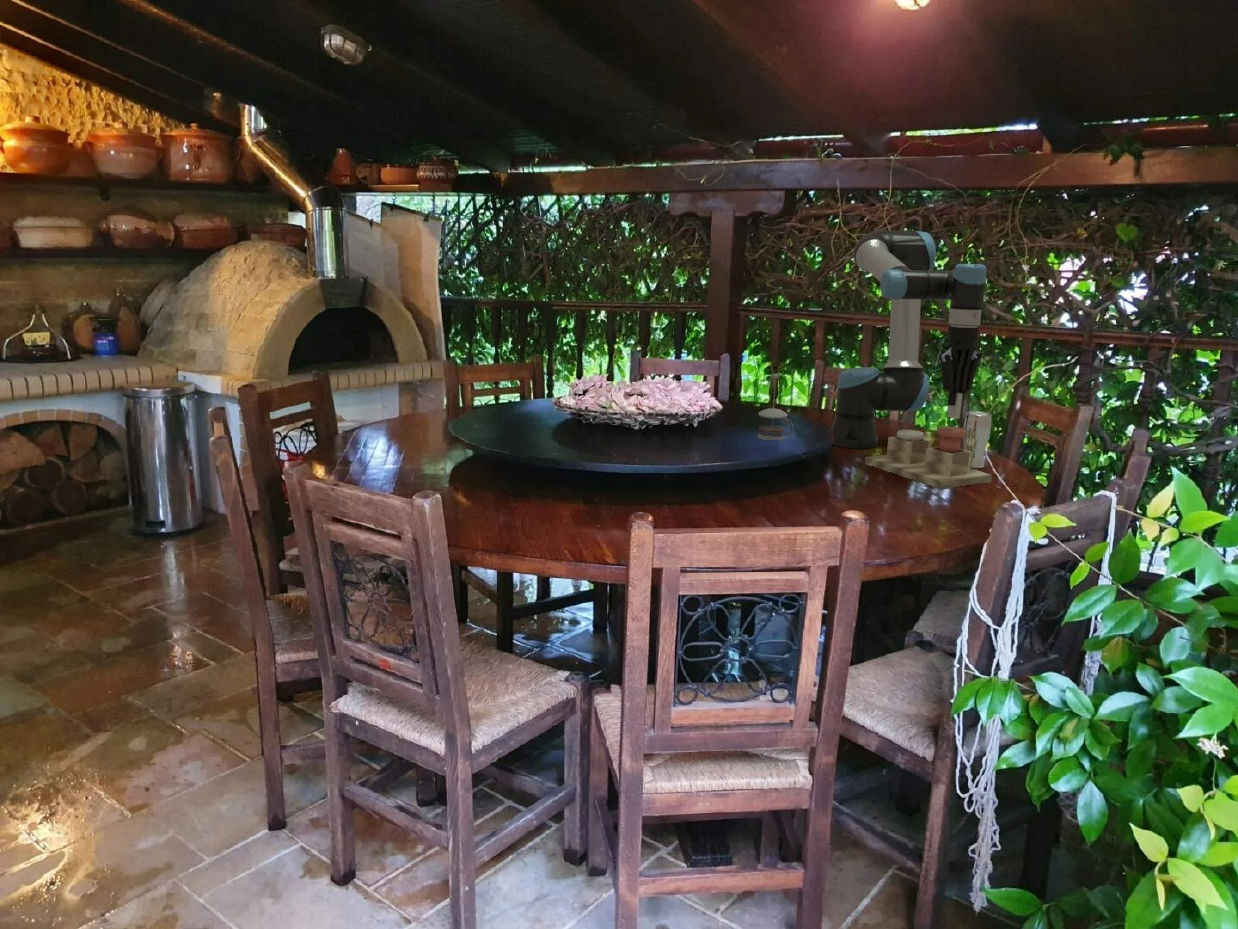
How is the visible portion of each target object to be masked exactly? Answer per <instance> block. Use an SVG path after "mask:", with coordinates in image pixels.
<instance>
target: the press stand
mask: <svg viewBox="0 0 1238 929" xmlns="http://www.w3.org/2000/svg"><path fill="white" fill-rule="evenodd" d="M939 446H940V445H939ZM939 446H932V440H929V439H927V438H923V440H919V441H915V442H908V441H904V440H901V439H900V438H898V437H897V435H896V436H888V440H887V447H886V449H887V450H886V454H883V455H882V454H881V455H875V456H865V458H864V465H866V466H869V467H872V466H874V467H873V468H875V467H877V468H876V469H878V468H879V469H878V470H882V471H884V472H887V473H890V472H892V473H891V474H893V473H895V474H894V475H896V474H897V475H896V476H899V475H900V477H903V478H905V479H909V480H911V479H913V480H912V481H914V480H915V482H917V481H918V483H920V484H924V485H926V486H927V485H928V486H930V485H931V487H933V488H935V489H940V490H948V489H954V487H955V488H960V486H962V487H968V486H967V485H969V486H974V485H982V484H988V483H992V480H993V479H992V478H993V474H989V473H986V472H983V471H981V470H976V469H974V468H970V466H971V458H972V452H971V451H967V450H964V448H960V450H959V452H957V453H947V452H944V451H940V450H939ZM947 488H948V489H947Z"/></svg>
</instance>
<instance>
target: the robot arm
mask: <svg viewBox="0 0 1238 929" xmlns="http://www.w3.org/2000/svg"><path fill="white" fill-rule="evenodd" d="M936 255H937V251H936V244H935V241H934V239H933V236H932V235H931V234H930V233H929V232H926V231H919V230H918V231H917V230H884V229H883V230H882V229H880V230H874V231H871V232H869V233H867V234H864V235H863V236H862V237H861V238H860V239H859V240H857V242H856V243H855V246H854V248H853V261H854V263H855V264H856V266H857V267H858V268H859V269H860V270H862V271H863V272H866V273H870V274H871V275H872V276H873V277H874V278H875V279H877V281H879V282H880V283H879V286H880V287H879V290H880V292H881V293H880V294H881V296H882V297H883V298H884V299H890V318H889V319H890V320H889V341H888V342H889V343H888V361H887V362H886V364H885V365H883V366H882V372H880V370H879V368H877V367H874V366H873V367H871V366H869V367H866V366H861V367H860V366H859V367H853V368H847V369H844V370H842V371H841V372H840V373H839V375H838V381H837V385H836V387H837V391H836V393H837V394H836V403H835V404H836V405H835V416H834V420H833V422H832V424H831V427H830V430H831V432H832V433H833V435H834V445H833V446H836V447H841V448H848V449H871V448H872V449H874V448H876V447H877V446H878V443H879V436H878V434H877V430H876V429H877V428H876V423H875V413H876V412H877V411H878V412H879V411H881V412H884V411H885V412H903V413H904V412H916V411H919V410H920V409H921V408H923V406H924V405H925V403H926V401H927V399H928V396H929V392H930V377H929V375H928V374H927V373H925V372H924V371H923V370H924V369H923V366H922V365H921V364H920V362H919V345H920V344H919V343H920V324H921V320H920V319H921V302H922V300H923V301H925V300H927V301H928V300H929V301H930V300H931V301H950V307H949V316H948V324H949V325H950V326H948V327H947V335H946V340H947V341H948V343H949V344H948V346H947V348H946V352H944V353H939V356H938V357H939V360H940V363H941V364H940V365H941V375H942V376H941V377H942V379H941V380H942V390H944V391H945V392H946V393H948V397H947V398H948V399H947V405H948V408H947V418H950V419H955V420H958V419H960V418H961V412H962V411H961V409H962V405H963V403H964V402H963V400H964V395H965V394H967V393H968V391H970V390H971V388H972V385H973V381H974V378H975V374H976V371H977V368H978V365H979V362H980V360H981V359H982V356H983V355H982V353H980V352H977V351H976V348H977V347H976V343H978V341H979V337H980V328H979V327H978V326H980V325H981V318H982V310H983V304H984V303H983V302H984V295H985V289H986V288H985V287H986V282H987V266H986V265H985V264H978V263H977V264H975V263H958V264H956V265H955V268H954V270H933V269H934V267H935V262H936V259H937V256H936Z"/></svg>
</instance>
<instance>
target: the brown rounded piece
mask: <svg viewBox="0 0 1238 929" xmlns="http://www.w3.org/2000/svg"><path fill="white" fill-rule="evenodd" d="M936 434H937V435H938V436H940V438H939V439H940V440H939V450H940V451H944V452H947V453H957V452H959V450H960V449H961V443H962V442H961V440H962V439H964V437H965V435H966V430H965V429H964V428H961V427H954V426H938V427H937V430H936Z"/></svg>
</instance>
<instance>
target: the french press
mask: <svg viewBox="0 0 1238 929" xmlns="http://www.w3.org/2000/svg"><path fill="white" fill-rule="evenodd" d="M771 378H772V379H774V385H776V383H777V382H776V379H779V378H780V374H779V373H773V374H772V375H771ZM773 391H774V392H773V400H775V396H776V387H774V390H773ZM772 403H773V405H772V407H771V408H765V409H762V410H760V411H759V412H758V416H759V417H761V418H766V419H772V421H771V425H761V426H759V427H758V429H759V430H760V431H758V432H757V437H758V438H759V439H763V440H782V441H783V439H786V438H787V436H788V437H789V436H790V432H791V436H792V437H793V436H794V424H793V422H792V421H791V419H789V418H788V416H789V415H788V413H787V412H785V411H784V410H782V409H778V408H775V402H772ZM774 419H776V420H777V419H781V423H782V424H786V423H788V424H787V425H788V434H787V436H786V433H783V432H785V430H786V429H785V428H784V427H783V426H778V425H773V424H774ZM783 420H784V421H783ZM790 424H791V425H790ZM791 427H792V430H791ZM768 435H769V436H768ZM774 436H780V437H774Z"/></svg>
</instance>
